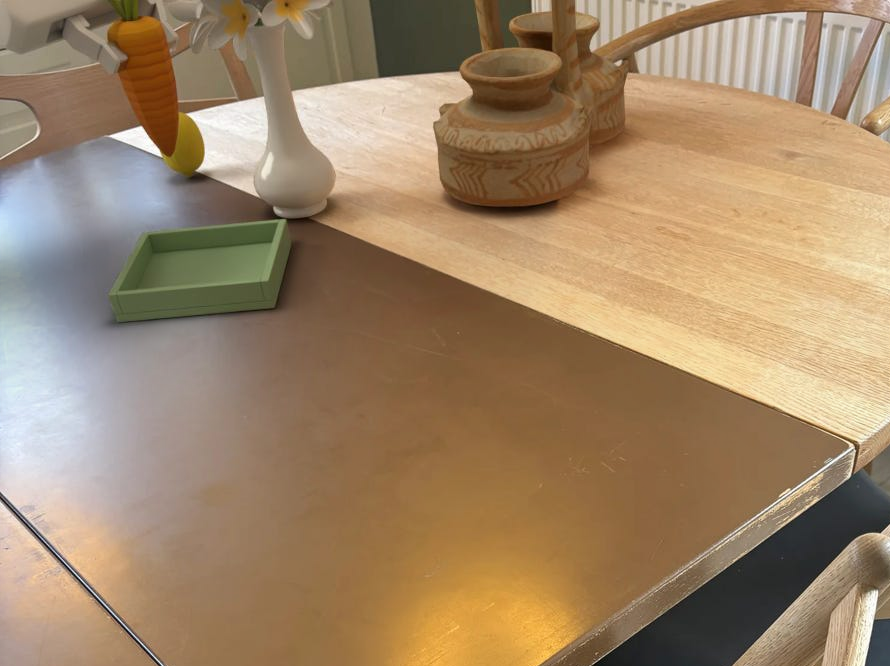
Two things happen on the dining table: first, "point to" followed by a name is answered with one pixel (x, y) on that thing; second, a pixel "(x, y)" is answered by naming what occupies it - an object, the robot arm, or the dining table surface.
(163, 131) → the carrot
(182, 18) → the flower vase
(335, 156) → the dining table surface
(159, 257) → the green tray
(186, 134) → the lemon
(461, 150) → the ceramic vessel
